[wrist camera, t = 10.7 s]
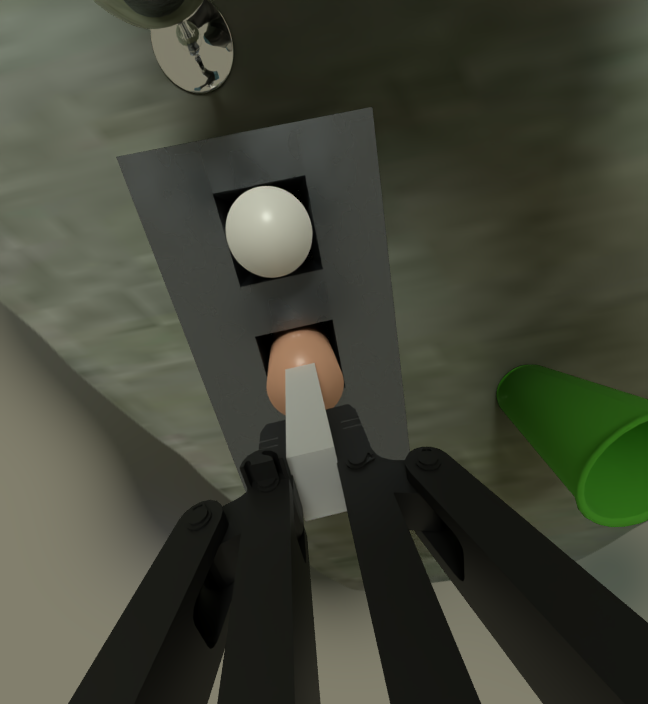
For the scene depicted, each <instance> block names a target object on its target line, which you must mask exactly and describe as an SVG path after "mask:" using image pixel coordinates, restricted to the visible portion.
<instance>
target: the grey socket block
mask: <svg viewBox="0 0 648 704" xmlns="http://www.w3.org/2000/svg"><path fill="white" fill-rule="evenodd" d="M116 158H117V160H118V163H119V166H120V168H121V171H122V173H123V176H124V178H125V181H126V184H127V186H128V189H129V191H130V194H131V197H132V199H133V202H134V204H135V207H136V209H137V212H138V215H139V217H140V220H141V222H142V225H143V227H144V230H145V233H146V235H147V238H148V240H149V243H150V246H151V248H152V251H153V253H154V256H155V258H156V261H157V264H158V266H159V269H160V271H161V274H162V277H163V279H164V282H165V284H166V287H167V289H168V292H169V295H170V297H171V300H172V302H173V305H174V308H175V310H176V313H177V315H178V318H179V320H180V323H181V326H182V328H183V331H184V333H185V336H186V339H187V341H188V344H189V346H190V349H191V351H192V354H193V357H194V359H195V362H196V364H197V367H198V370H199V372H200V375H201V377H202V380H203V382H204V385H205V388H206V390H207V393H208V395H209V398H210V401H211V403H212V406H213V408H214V411H215V413H216V416H217V419H218V421H219V424H220V426H221V429H222V432H223V434H224V437H225V439H226V442H227V444H228V447H229V450H230V452H231V455H232V457H233V460H234V463H235V465H236V468H237V470H238V473H239V475H240V478H241V481H242V483H243V486H244V488H245V491H246V492H247V487H246V484H245V481H244V479H243V476H242V474H241V471H240V466H241V463H242V461H243V460H244V459H245V458H246V457H247V456H248V455H250V454H251V453H253V452H255V451H257V450H259V443H260V442H259V440H260V433H261V431H262V430H263V428H264V427H265V425H266V424H269V423H273V422H278V421H282V420H286V415H284V414H282V413H281V412H279V411H278V410H277V409H276V408H275V407H274V406H273V404H272V403H271V401H270V400H269V397H268V394H267V376H268V367H269V359H270V350H271V343H270V339H269V336H268V334H270V333H274V332H279V331H283V330H288V329H292V328H297V327H301V326H306V325H310V324H314V323H319V322H323V321H326V326H327V331H328V336H329V341H330V345H331V347H332V350H333V352H334V355H335V357H336V360H337V362H338V364H339V367H340V369H341V372H342V375H343V379H344V388H343V393H342V396H341V398H340V400H339V401H338V403H337V404H336V405H335V406H334V407H338V406H342V405H346V404H349V405H350V406H352V407H353V408H355V409H356V411H357V414H358V416H359V419H360V421H361V424H362V426H363V428H364V431H365V433H366V436H367V438H368V441H369V443H370V446H371V448H372V450H373V451H374V452H375V453H376V454H377V455H379V456H381V457H382V458H386V459H391V460H405V458H406V457H407V455H408V453H409V452H410V449H409V440H408V430H407V421H406V412H405V403H404V394H403V385H402V375H401V366H400V357H399V348H398V339H397V330H396V320H395V311H394V302H393V293H392V284H391V275H390V265H389V256H388V247H387V238H386V229H385V219H384V210H383V201H382V192H381V183H380V174H379V164H378V155H377V146H376V137H375V128H374V119H373V109H372V107H369V108H364V109H359V110H353V111H348V112H343V113H338V114H333V115H328V116H323V117H318V118H312V119H307V120H302V121H297V122H292V123H287V124H282V125H277V126H272V127H266V128H261V129H256V130H251V131H246V132H241V133H236V134H231V135H225V136H220V137H215V138H210V139H205V140H200V141H195V142H190V143H185V144H179V145H174V146H169V147H164V148H159V149H154V150H149V151H144V152H139V153H133V154H128V155H123V156H118V157H116ZM260 186H272V187H277V188H280V189H283V190H285V191H287V192H293V191H298V190H300V195H301V200H302V205H303V206H304V208H305V210H306V211H307V213H308V216H309V218H310V221H311V225H312V244H311V250H312V255H313V260H311V261H306V262H303V263H302V264H301V265H300V266H299V267H298V268H297V269H296V270H294V271H293V272H291V273H289V274H287V275H284V276H281V277H274V278H269V277H263V276H259V275H256V274H254V273H251V272H250V271H248V270H247V269H245V268H244V267H243V266H242V265H241V264H240V263H239V262H238V261H237V260H236V259H235V257H234V256H233V254H232V252H231V250H230V248H229V245H228V242H227V238H226V220H227V216H228V213H229V211H230V208H231V206H232V204H233V203H234V202H235V201H236V200H237V198H238V197H239V196H241V195H242V194H243V193H245V192H246V191H248V190H250V189H252V188H256V187H260ZM334 407H333V408H334Z"/></svg>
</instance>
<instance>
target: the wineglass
mask: <svg viewBox="0 0 648 704" xmlns="http://www.w3.org/2000/svg"><path fill="white" fill-rule="evenodd" d="M93 1H94V2H95V3H96V4H97V5H99V6H100V7H101V8H103V9H104V10H105V11H107V12H108V13H110V14H111V15H113V16H115V17H117V18H119V19H120V20H122V21H124V22H126V23H129V24H131V25H133V26H137V27H140V28H144V29H150V30H151V43H152V47H153V51H154V55H155V57H156V59H157V62H158V64H159V65H160V67H161V69H162V70H163V72H164V73H165V74H166V76H167V77H168V78H169V79H170V80H171V81H172V82H173V83H174V84H176V85H177V86H179V87H180V88H182V89H183V90H186V91H189V92H192V93H198V94H204V93H209V92H212V91H214V90H216V89H217V88H219V87H220V86H221V85H222V84H223V83H224V82H225V81H226V79H227V77H228V76H229V74H230V71H231V68H232V65H233V58H234V48H233V41H232V36H231V33H230V30H229V27H228V25H227V23H226V21H225V19H224V17H223V16H222V14H221V13H220V11H219V10H218V9H217V8H216V7H215V6H214V4H212V3H211V2H210V1H209V0H93Z"/></svg>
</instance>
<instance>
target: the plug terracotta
mask: <svg viewBox="0 0 648 704" xmlns="http://www.w3.org/2000/svg"><path fill="white" fill-rule="evenodd" d="M311 363H315V367H316V371H317V376H318V380H319V384H320V388H321V393H322V397H323V401H324V405H325V409H329V408H333V407H334V406H335V405H336V404H337V403H338V401H339V400H340V398H341V396H342V393H343V388H344V379H343V375H342V372H341V369H340V367H339V364H338V362H337V360H336V357H335V355H334V352H333V350H332V347H331V345H330V343H329V340H328V338H327V335H326V333H325V330H324V329H323V327H322V326H321V324H320V323H314V324H310V325H306V326H301V327H297V328H292V329H288V330H283V331H279V332H274V333H273V335H272V341H271V350H270V359H269V367H268V376H267V394H268V397H269V400H270V401H271V403H272V404H273V406H274V407H275V408H276V409H277V410H278V411H279V412H281V413H282V414H284V415H286V394H285V369H290V368H294V367H298V366H303V365H307V364H311Z"/></svg>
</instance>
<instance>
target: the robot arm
mask: <svg viewBox="0 0 648 704" xmlns="http://www.w3.org/2000/svg"><path fill="white" fill-rule="evenodd" d="M285 394H286V420H282V421H278V422H273V423H269V424H266V425H265V427H264V428H263V430H262V431H261V433H260V440H259V442H260V443H259V450H257V451H255V452H253V453H251V454H250V455H248V456H247V457H246V458H245V459H244V460H243V461H242V463H241V466H240V471H241V474H242V476H243V479H244V481H245V484H246V487H247V492H246V493H245V494H244V495H242V496H241V497H239V498H238V499H236V500H234V501H232V502H230V503H228V504H226V505H225V506H223V507H222V505H221V504H220V503H219V502H217V501H213V500H207V501H203V502H200V503H198V504H196V505H194V506H192V507H191V508H190V509H189V510H187V511H186V512H185V513H184V514H183V516H182V517H181V518H180V519H179V521H178V522H177V524H176V526H175V527H174V529H173V531H172V533H171V534H170V536H169V537H168V539H167V541H166V542H165V544H164V546H163V547H162V549H161V551H160V552H159V554H158V556H157V557H156V559H155V561H154V562H153V564H152V565H151V568H150V569H149V570H148V572H147V574H146V575H145V577H144V579H143V580H142V582H141V584H140V585H139V587H138V589H137V590H136V592H135V594H134V595H133V597H132V599H131V600H130V602H129V604H128V605H127V607H126V609H125V610H124V612H123V614H122V615H121V617H120V619H119V620H118V622H117V624H116V625H115V627H114V629H113V630H112V632H111V634H110V635H109V637H108V639H107V640H106V642H105V643H104V645H103V647H102V649H101V650H100V652H99V653H98V655H97V657H96V658H95V660H94V662H93V663H92V665H91V667H90V669H89V670H88V672H87V673H86V675H85V677H84V679H83V680H82V682H81V683H80V685H79V687H78V688H77V690H76V692H75V693H74V695H73V697H72V698H71V700H70V702H69V703H68V704H207V703H208V700H209V697H210V693H211V690H212V687H213V684H214V681H215V678H216V674H217V671H218V668H219V665H220V662H221V658H222V656H223V653H224V649H225V653H224V660H223V667H222V674H221V681H220V688H219V696H218V702H217V704H320V693H319V680H318V669H317V668H318V667H317V655H316V643H315V630H314V617H313V606H312V593H311V579H310V567H309V554H308V542H307V535H306V531H305V528H304V522H303V515H304V519H305V521H309V520H313V519H317V518H321V517H325V516H329V515H333V514H337V513H341V512H345V511H347V512H348V517H349V521H350V526H351V530H352V534H353V539H354V543H355V548H356V552H357V557H358V561H359V566H360V570H361V575H362V579H363V584H364V588H365V592H366V597H367V601H368V606H369V610H370V615H371V619H372V624H373V628H374V633H375V637H376V642H377V646H378V650H379V655H380V659H381V664H382V668H383V673H384V677H385V682H386V686H387V691H388V695H389V700H390V704H481V702H480V700H479V698H478V695H477V693H476V690H475V688H474V686H473V683H472V681H471V679H470V676H469V673H468V671H467V669H466V666H465V664H464V661H463V659H462V657H461V654H460V652H459V650H458V647H457V645H456V642H455V640H454V638H453V635H452V633H451V630H450V628H449V626H448V623H447V621H446V618H445V616H444V613H443V611H442V609H441V606H440V604H439V602H438V599H437V597H436V594H435V592H434V589H433V587H432V585H431V582H430V580H429V577H428V575H427V573H426V570H425V568H424V565H423V563H422V561H421V558H420V556H419V553H418V551H417V549H416V546H415V544H414V541H413V539H412V537H411V534H410V532H409V530H415V532H416V534H417V536H418V537H419V538H420V540H421V541H422V542H423V544H424V545H425V546H426V548H427V549H428V550H429V552H430V553H431V554H432V556H433V557H434V558H435V560H436V561H437V562H438V564H439V565H440V566H441V568H442V569H443V570H444V572H445V573H446V574H447V576H448V577H449V578H450V580H451V581H452V582H453V584H454V585H455V586H456V588H457V589H458V590H459V592H460V593H461V594H462V596H463V597H464V598H465V600H466V601H467V602H468V604H469V605H470V607H471V608H472V609H473V610H474V612H475V613H476V614H477V616H478V617H479V619H480V620H481V621H482V623H483V624H484V625H485V627H486V628H487V629H488V631H489V632H490V633H491V635H492V636H493V637H494V639H495V640H496V641H497V642H498V644H499V645H500V647H501V648H502V649H503V651H504V652H505V653H506V655H507V656H508V657H509V659H510V660H511V661H512V663H513V664H514V665H515V667H516V668H517V670H518V671H519V672H520V674H521V675H522V676H523V677H524V679H525V680H526V682H527V683H528V684H529V686H530V687H531V688H532V690H533V691H534V692H535V693H536V695H537V696H538V698H539V699H540V700H541V702H542V703H543V704H648V623H647V622H646V621H645V620H644V619H643V618H641V617H640V616H639V615H638V614H637V613H636V612H634V611H633V610H632V609H631V608H629V607H628V606H627V605H626V604H625V603H624V602H622V601H621V600H620V599H619V598H618V597H616V596H615V595H614V594H613V593H612V592H611V591H609V590H608V589H607V588H606V587H605V586H603V585H602V584H601V583H600V582H599V581H597V580H596V579H595V578H594V577H593V576H592V575H590V574H589V573H588V572H587V571H586V570H584V569H583V568H582V567H581V566H580V565H578V564H577V563H576V562H575V561H574V560H573V559H571V558H570V557H569V556H568V555H567V554H565V553H564V552H563V551H562V550H561V549H559V548H558V547H557V546H556V545H555V544H554V543H552V542H551V541H550V540H549V539H548V538H546V537H545V536H544V535H543V534H542V533H540V532H539V531H538V530H537V529H536V528H535V527H533V526H532V525H531V524H530V523H529V522H527V521H526V520H525V519H524V518H523V517H521V516H520V515H519V514H518V513H517V512H516V511H514V510H513V509H512V508H511V507H510V506H508V505H507V504H506V503H505V502H504V501H502V500H501V499H500V498H499V497H498V496H497V495H495V494H494V493H493V492H492V491H491V490H489V489H488V488H487V487H486V486H485V485H483V484H482V483H481V482H480V481H479V480H478V479H476V478H475V477H474V476H473V475H472V474H470V473H469V472H468V471H467V470H466V469H464V468H463V467H462V466H461V465H460V464H458V463H457V462H456V461H455V460H454V459H453V458H451V457H450V456H449V455H448V454H447V453H445V452H443V451H442V450H440V449H437V448H433V447H420V448H416V449H414V450H412V451H411V452H409V453H408V455H407V457H406V458H405V460H391V459H386V458H382V457H381V456H379V455H377V454H376V453H375V452H374V451H373V450H372V448H371V446H370V443H369V441H368V438H367V436H366V433H365V431H364V428H363V426H362V424H361V421H360V419H359V416H358V414H357V411H356V409H355V408H353V407H352V406H350V405H349V404H346V405H342V406H338V407H334V408H329V409H325V405H324V401H323V397H322V393H321V388H320V384H319V380H318V376H317V371H316V367H315V363H311V364H307V365H303V366H298V367H294V368H290V369H285Z"/></svg>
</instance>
